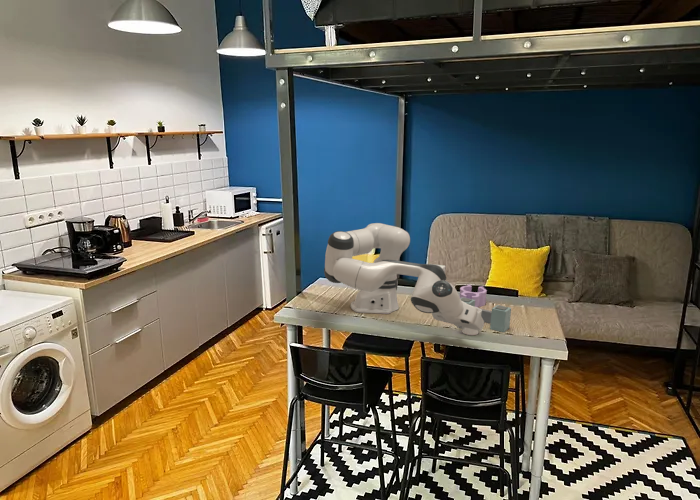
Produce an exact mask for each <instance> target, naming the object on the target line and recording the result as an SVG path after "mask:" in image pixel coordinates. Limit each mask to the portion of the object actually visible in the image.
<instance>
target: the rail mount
mask: <svg viewBox="0 0 700 500" xmlns="http://www.w3.org/2000/svg"><path fill="white" fill-rule="evenodd" d="M460 299H461V301H463V302H465V303H467V304H469V305H471V306H473V307H475V300H473V299H468V298H463V297H462V298H460ZM480 309H481V310H482V313H481V317H482V318H483V320H484V323H487V324H490V326H489V330H492V331H497V332H501V333H505V332H507V331H508V330H509V329H510V326H511V325H510V324H511V315H512V314H511V313H512V307H509V306H505V305H499V304H497V305H495V306H494V307H492V308H491V310H489V309H484V308H480Z"/></svg>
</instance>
